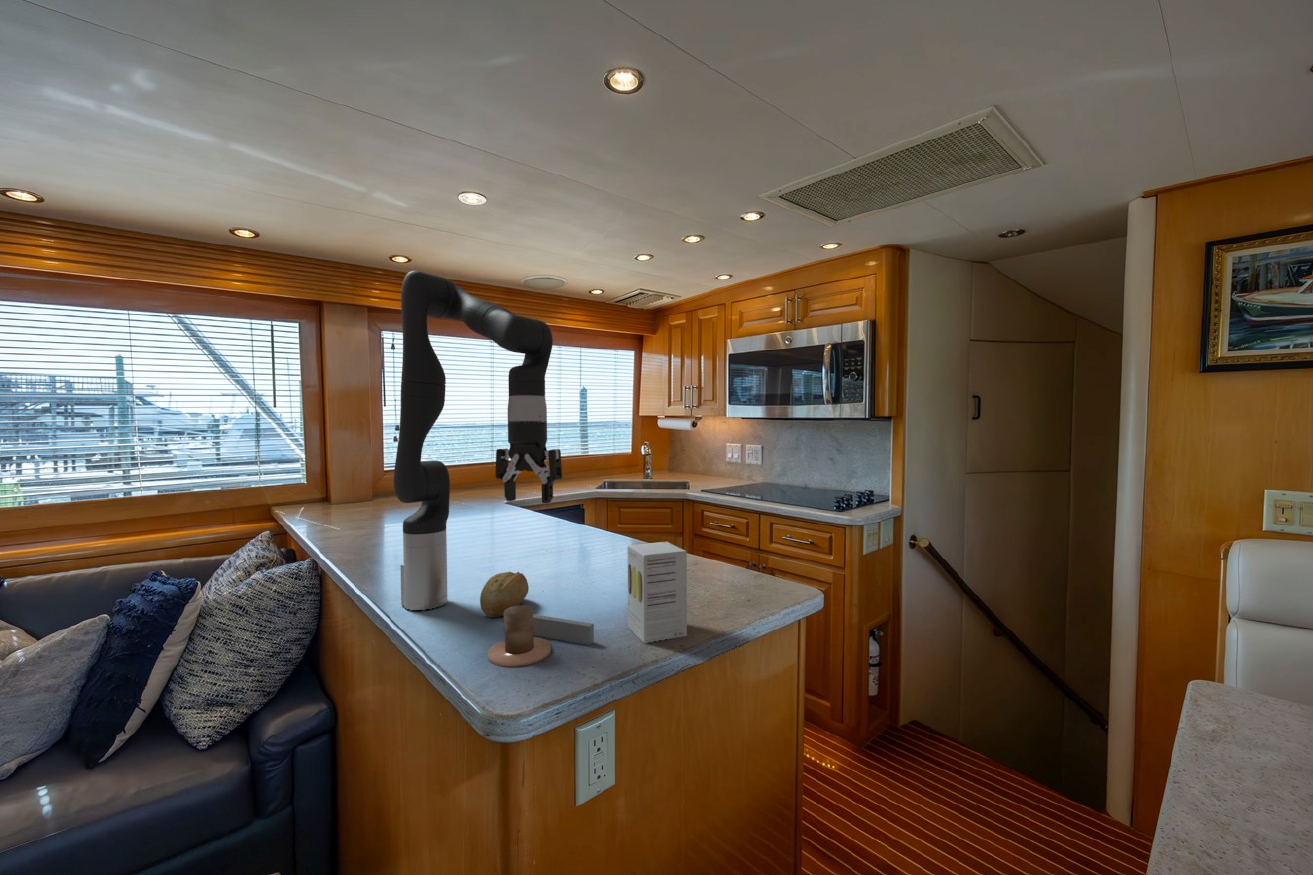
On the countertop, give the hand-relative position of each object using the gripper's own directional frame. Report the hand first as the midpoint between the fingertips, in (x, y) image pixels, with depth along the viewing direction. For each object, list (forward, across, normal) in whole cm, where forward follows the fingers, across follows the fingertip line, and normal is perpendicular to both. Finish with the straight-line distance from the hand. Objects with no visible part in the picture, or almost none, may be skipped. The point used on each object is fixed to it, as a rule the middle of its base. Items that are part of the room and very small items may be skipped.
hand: (528, 501), depth 105 cm
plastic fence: (+26, +4, 0) cm, 26 cm away
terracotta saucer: (+26, +4, -8) cm, 28 cm away
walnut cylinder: (+25, +4, -8) cm, 27 cm away
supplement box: (+26, +23, +10) cm, 36 cm away
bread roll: (+26, -14, +10) cm, 32 cm away
